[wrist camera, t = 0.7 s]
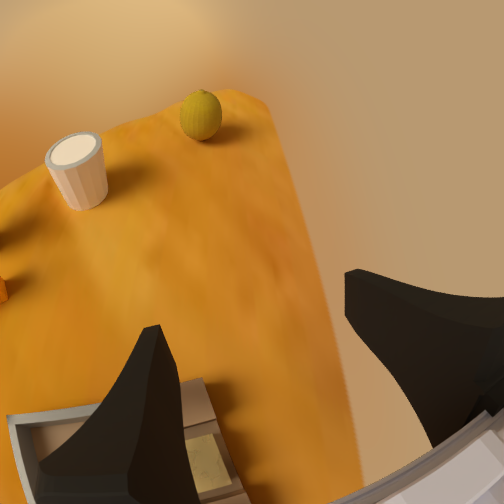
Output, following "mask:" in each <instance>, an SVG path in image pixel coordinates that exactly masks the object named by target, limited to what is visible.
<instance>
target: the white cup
mask: <svg viewBox="0 0 504 504" xmlns="http://www.w3.org/2000/svg"><path fill="white" fill-rule="evenodd" d="M45 163H46V165H47V168H48V169H49V171H50V173H51V175H52V177H53V179H54V181H55V183H56V184H57V186H58V188H59V190H60V192H61V193H62V195H63V197H64V199H65V200H66V202H67V204H68V206H69V207H70V208H72V209H74V210H79V211H84V210H88V209H91V208H93V207H95V206H97V205H99V204H100V203H101V202H102V201H103V200H104V199H105V197H106V195H107V193H108V183H107V176H106V170H105V163H104V155H103V148H102V140H101V138H100V137H99V135H98V134H96V133H92V132H79V133H74V134H71V135H69V136H66V137H65V138H63V139H61V140H59V141H58V142H57V143H55V144H54V145H53V146H52V147H51V148H50V150H49V151H48V152H47V154H46V158H45Z"/></svg>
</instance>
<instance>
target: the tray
mask: <svg viewBox="0 0 504 504" xmlns="http://www.w3.org/2000/svg"><path fill="white" fill-rule="evenodd" d="M100 404H101V403H96V404H91V405H85V406H79V407H73V408H66V409H59V410H52V411H44V412H36V413H27V414H16V415H6V416H7V422H8V428H9V433H10V438H11V443H12V448H13V452H14V457H15V461H16V465H17V469H18V472H19V476H20V480H21V483H22V486H23V490H24V493H25V496H26V499H27V502H28V504H37V503H36V502H35V500H34V493H35V485H36V478H37V471H38V465H39V464H38V460H37V456H36V452H35V448H34V443H33V439H32V434H31V429H30V428H34V427H45V426H54V425H62V424H70V423H77V422H84V421H86V420H87V419H88V418H89V417H90V416H91V415H92V414H93V412H94V411H95V410H96V409H97V408H98V406H99V405H100Z"/></svg>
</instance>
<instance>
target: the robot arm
mask: <svg viewBox="0 0 504 504" xmlns="http://www.w3.org/2000/svg"><path fill="white" fill-rule="evenodd" d="M345 316H346V318H347V319H348V321H349V323H350V324H351V326H352V327H353V329H354V330H355V332H356V333H357V334H358V336H359V337H360V338H361V339H362V340H363V342H364V343H365V344H366V345H367V346H368V347H369V349H370V350H371V351H372V352H373V353H374V354H375V355H376V356H377V358H378V359H379V360H380V361H381V362H382V363H383V364H384V366H385V367H386V368H387V369H388V370H389V372H390V373H391V374H392V376H393V377H394V378H395V380H396V381H397V383H398V384H399V386H400V387H401V389H402V390H403V392H404V393H405V395H406V397H407V399H408V400H409V402H410V404H411V405H412V407H413V409H414V410H415V412H416V414H417V416H418V418H419V420H420V422H421V423H422V425H423V427H424V430H425V432H426V434H427V436H428V438H429V440H430V443H431V445H432V447H433V449H432V450H430V451H429V452H427V453H426V454H424V455H423V456H421V457H419V458H418V459H416V460H414V461H413V462H411V463H410V464H408V465H406V466H404V467H403V468H401V469H399V470H397V471H395V472H394V473H392V474H390V475H388V476H386V477H384V478H382V479H381V480H379V481H377V482H375V483H373V484H371V485H369V486H367V487H364V488H362V489H360V490H358V491H356V492H354V493H352V494H349V495H347V496H345V497H343V498H340V499H338V500H335V501H333V502H331V503H328V504H504V297H500V298H483V297H468V296H458V295H451V294H446V293H441V292H435V291H431V290H427V289H423V288H419V287H416V286H412V285H409V284H406V283H402V282H399V281H396V280H393V279H390V278H387V277H384V276H381V275H378V274H375V273H372V272H369V271H365V270H361V269H355V270H352V271H349V272H346V273H345ZM34 500H35V502H36V503H37V504H201V502H200V499H199V496H198V493H197V489H196V486H195V482H194V478H193V474H192V471H191V467H190V462H189V458H188V454H187V449H186V444H185V437H184V425H183V413H182V400H181V387H180V382H179V377H178V372H177V366H176V363H175V361H174V358H173V356H172V354H171V351H170V349H169V346H168V344H167V341H166V339H165V337H164V334H163V331H162V329H161V326H160V324H159V325H155V326H151V327H146V328H144V329H143V331H142V332H141V334H140V336H139V338H138V341H137V343H136V345H135V347H134V349H133V351H132V353H131V355H130V357H129V359H128V361H127V362H126V364H125V366H124V368H123V370H122V372H121V373H120V375H119V377H118V378H117V380H116V382H115V384H114V385H113V387H112V388H111V390H110V391H109V393H108V394H107V396H106V397H105V398H104V400H103V401H102V403H101V404H100V405H99V406H98V408H97V409H96V410H95V411H94V412H93V414H92V415H91V416H90V417H89V418H88V419H87V420H86V422H85V423H84V424H83V425H82V426H81V427H80V428H79V429H78V430H77V431H76V432H75V433H74V434H73V435H72V436H71V437H70V438H69V439H68V440H67V441H65V442H64V443H63V444H62V445H61V446H60V447H58V448H57V449H56V450H55V451H53V452H52V453H51V454H49V455H48V456H47V457H45V458H44V459H43V460H41V461H40V462H39V465H38V471H37V478H36V485H35V493H34Z"/></svg>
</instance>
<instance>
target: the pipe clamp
mask: <svg viewBox="0 0 504 504" xmlns="http://www.w3.org/2000/svg"><path fill="white" fill-rule="evenodd" d="M6 300H8V295H7V291H6V287H5V282H4V280H3V279H2V278H1V277H0V304H1V303H3V302H4V301H6Z"/></svg>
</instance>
